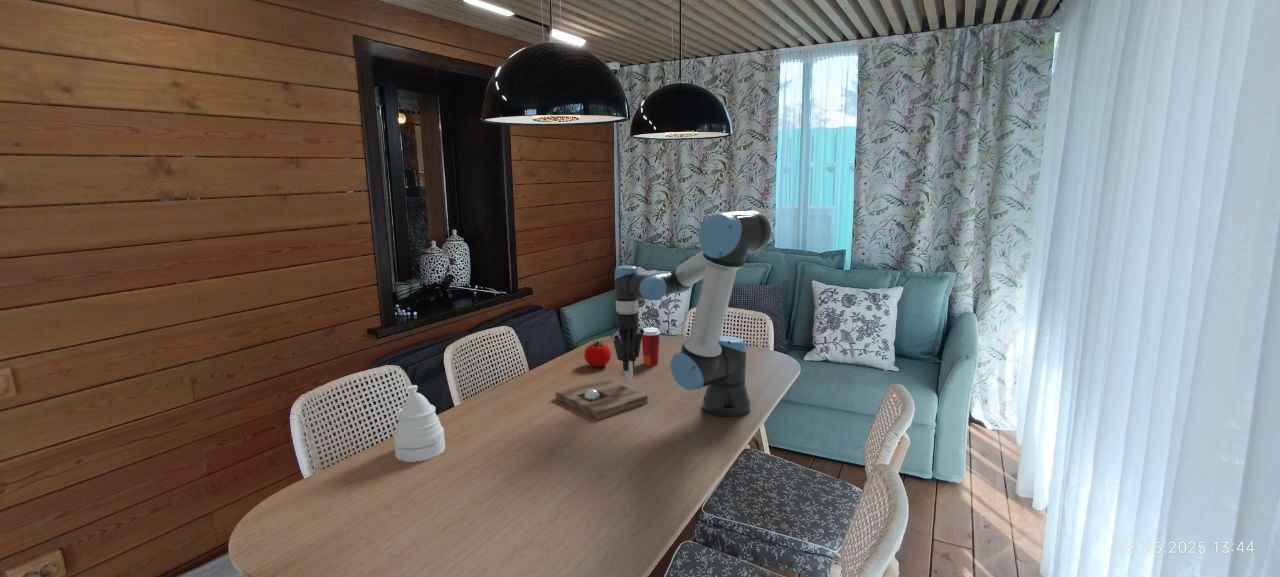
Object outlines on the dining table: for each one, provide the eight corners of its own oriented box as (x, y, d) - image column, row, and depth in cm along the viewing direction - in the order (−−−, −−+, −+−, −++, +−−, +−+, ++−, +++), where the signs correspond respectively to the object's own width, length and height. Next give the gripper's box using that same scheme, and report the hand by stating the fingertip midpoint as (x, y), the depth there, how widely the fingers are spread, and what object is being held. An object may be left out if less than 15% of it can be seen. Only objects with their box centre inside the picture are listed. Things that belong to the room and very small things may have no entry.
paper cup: (661, 361, 236) (660, 327, 233) (659, 367, 229) (659, 332, 226) (641, 360, 237) (641, 327, 234) (639, 366, 229) (639, 332, 227)
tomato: (593, 360, 238) (592, 336, 236) (616, 364, 233) (615, 339, 231) (579, 368, 229) (578, 343, 227) (603, 371, 224) (602, 346, 222)
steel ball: (588, 405, 188) (597, 408, 192) (595, 391, 189) (605, 395, 192) (578, 398, 192) (588, 402, 195) (586, 384, 192) (595, 388, 196)
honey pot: (388, 450, 162) (382, 388, 159) (434, 436, 170) (429, 377, 167) (404, 467, 152) (398, 401, 149) (452, 451, 160) (447, 389, 157)
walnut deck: (647, 403, 192) (647, 395, 192) (598, 419, 180) (598, 412, 179) (603, 384, 210) (603, 377, 210) (555, 398, 198) (555, 391, 197)
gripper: (634, 307, 204) (636, 372, 209) (604, 313, 196) (607, 380, 200) (649, 310, 199) (650, 377, 203) (618, 316, 190) (620, 386, 195)
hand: (628, 378), depth 202 cm, fingers closed
